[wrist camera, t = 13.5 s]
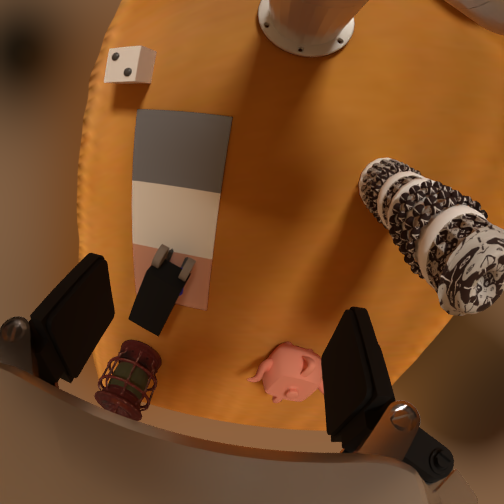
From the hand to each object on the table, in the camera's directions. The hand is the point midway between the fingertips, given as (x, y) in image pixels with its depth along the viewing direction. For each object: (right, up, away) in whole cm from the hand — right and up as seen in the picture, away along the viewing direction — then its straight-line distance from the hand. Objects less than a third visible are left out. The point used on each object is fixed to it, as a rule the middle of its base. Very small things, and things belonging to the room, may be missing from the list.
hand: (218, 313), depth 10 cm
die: (-15, +29, +20) cm, 38 cm away
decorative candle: (+21, +12, +26) cm, 35 cm away
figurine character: (-13, -2, +37) cm, 39 cm away
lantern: (-25, -22, +49) cm, 59 cm away
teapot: (+9, -19, +44) cm, 49 cm away
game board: (-11, +7, +32) cm, 34 cm away
